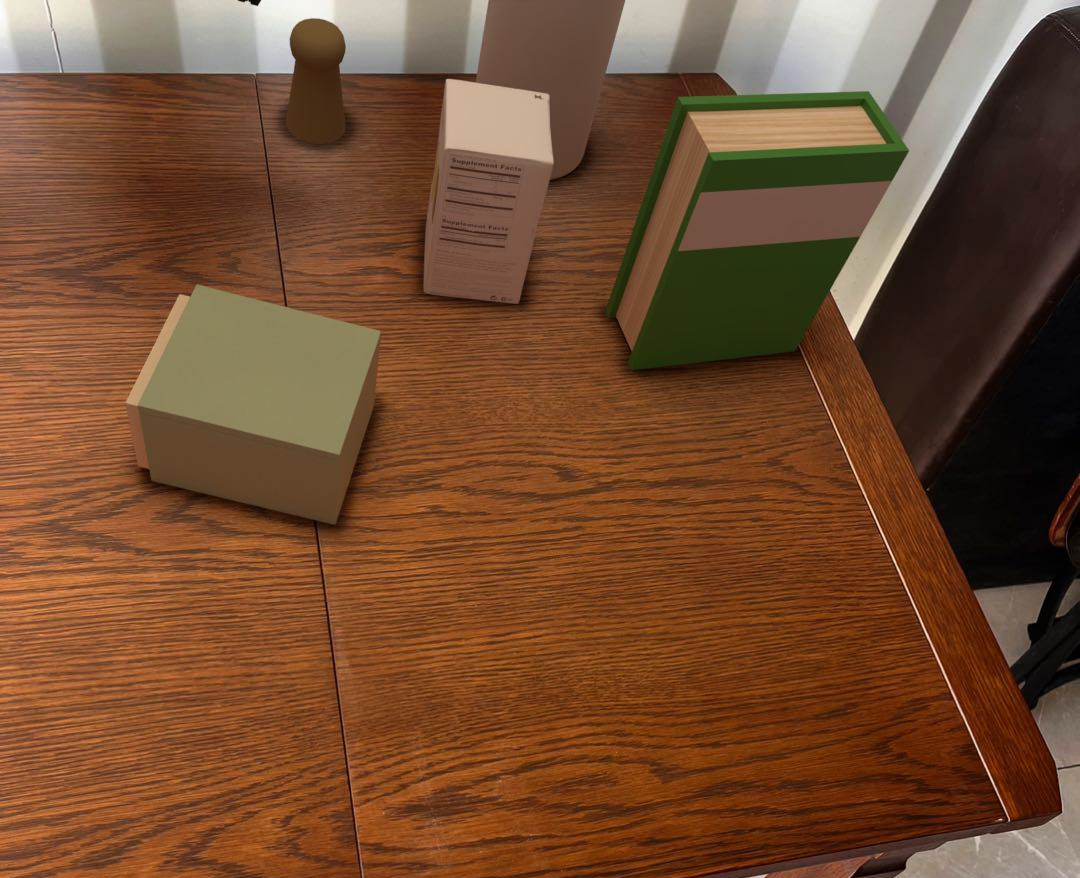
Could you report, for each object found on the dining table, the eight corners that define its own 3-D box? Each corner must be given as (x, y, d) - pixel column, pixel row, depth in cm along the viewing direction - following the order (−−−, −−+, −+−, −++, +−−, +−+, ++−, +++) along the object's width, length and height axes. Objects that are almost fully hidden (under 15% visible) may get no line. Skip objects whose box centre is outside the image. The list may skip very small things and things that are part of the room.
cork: (321, 155, 109) (324, 56, 99) (273, 126, 109) (271, 26, 100) (358, 127, 112) (363, 29, 103) (310, 100, 113) (312, 0, 104)
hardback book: (630, 372, 101) (713, 160, 81) (604, 313, 104) (678, 96, 84) (794, 353, 106) (909, 150, 87) (764, 298, 110) (868, 91, 90)
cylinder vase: (481, 185, 111) (524, -56, 90) (456, 106, 117) (491, -137, 96) (596, 184, 114) (663, -49, 94) (566, 107, 120) (622, -127, 100)
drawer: (122, 462, 84) (108, 398, 78) (172, 357, 91) (163, 289, 84) (308, 507, 85) (310, 448, 79) (345, 400, 92) (350, 336, 85)
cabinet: (151, 483, 85) (137, 405, 77) (204, 366, 92) (196, 283, 84) (335, 527, 86) (339, 454, 78) (373, 408, 93) (381, 330, 85)
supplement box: (424, 226, 106) (444, 73, 92) (517, 237, 108) (550, 89, 94) (422, 297, 101) (443, 147, 87) (520, 308, 102) (556, 162, 89)
